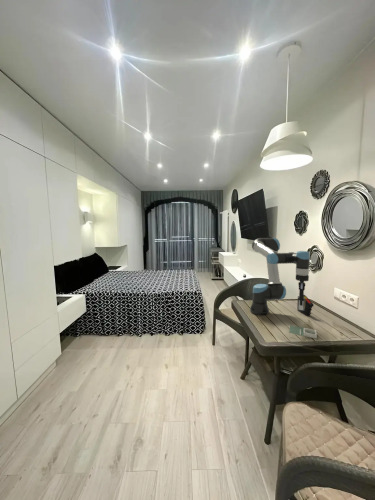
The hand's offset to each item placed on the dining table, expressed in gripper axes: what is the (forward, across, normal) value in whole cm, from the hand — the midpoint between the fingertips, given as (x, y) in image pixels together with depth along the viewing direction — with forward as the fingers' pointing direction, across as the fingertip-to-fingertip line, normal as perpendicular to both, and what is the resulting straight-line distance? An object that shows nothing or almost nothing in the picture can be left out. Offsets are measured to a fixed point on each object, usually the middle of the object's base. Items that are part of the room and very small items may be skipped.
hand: (300, 308), depth 135 cm
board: (+17, 0, -2) cm, 17 cm away
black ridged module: (+17, +36, -3) cm, 40 cm away
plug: (+1, 0, 0) cm, 1 cm away
